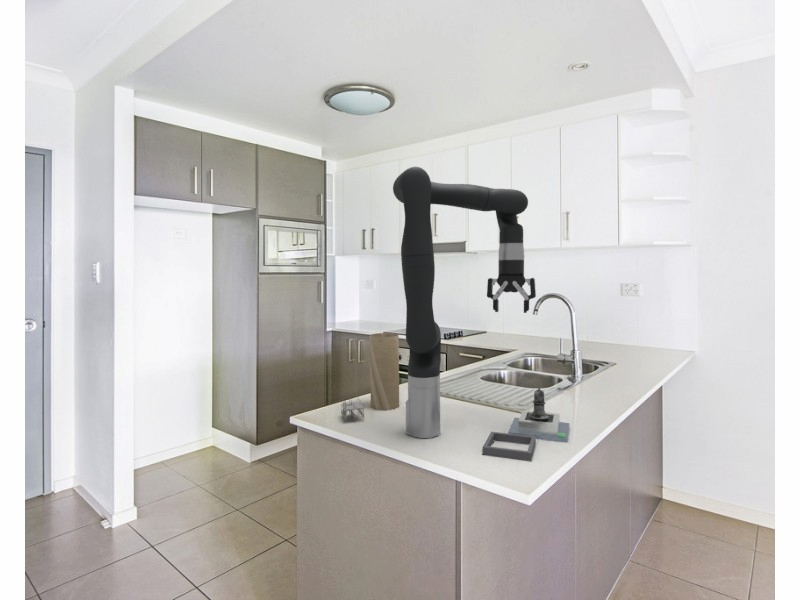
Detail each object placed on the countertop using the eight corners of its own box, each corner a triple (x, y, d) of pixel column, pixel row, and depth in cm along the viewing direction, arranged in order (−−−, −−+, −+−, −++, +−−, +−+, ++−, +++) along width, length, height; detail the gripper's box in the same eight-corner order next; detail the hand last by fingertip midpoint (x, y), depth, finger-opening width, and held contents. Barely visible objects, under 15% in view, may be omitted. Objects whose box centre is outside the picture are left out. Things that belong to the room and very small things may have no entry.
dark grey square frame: (482, 454, 119) (482, 446, 119) (491, 438, 131) (491, 431, 130) (531, 461, 115) (531, 453, 115) (535, 443, 126) (535, 436, 126)
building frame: (345, 424, 145) (344, 405, 145) (339, 416, 152) (339, 398, 152) (364, 421, 147) (364, 403, 147) (358, 414, 154) (358, 396, 154)
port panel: (507, 435, 133) (508, 421, 133) (514, 420, 146) (514, 407, 146) (567, 442, 127) (567, 428, 127) (569, 426, 140) (569, 413, 140)
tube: (381, 412, 156) (380, 337, 154) (365, 405, 164) (364, 334, 163) (405, 406, 162) (404, 335, 160) (388, 400, 170) (387, 332, 168)
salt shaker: (545, 423, 139) (545, 384, 138) (552, 430, 133) (552, 389, 133) (525, 424, 139) (526, 384, 138) (532, 431, 133) (532, 389, 132)
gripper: (485, 259, 140) (485, 312, 141) (534, 258, 135) (533, 314, 136) (489, 259, 147) (489, 310, 148) (536, 258, 142) (536, 311, 143)
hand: (510, 312), depth 142 cm, fingers open, 8 cm apart
